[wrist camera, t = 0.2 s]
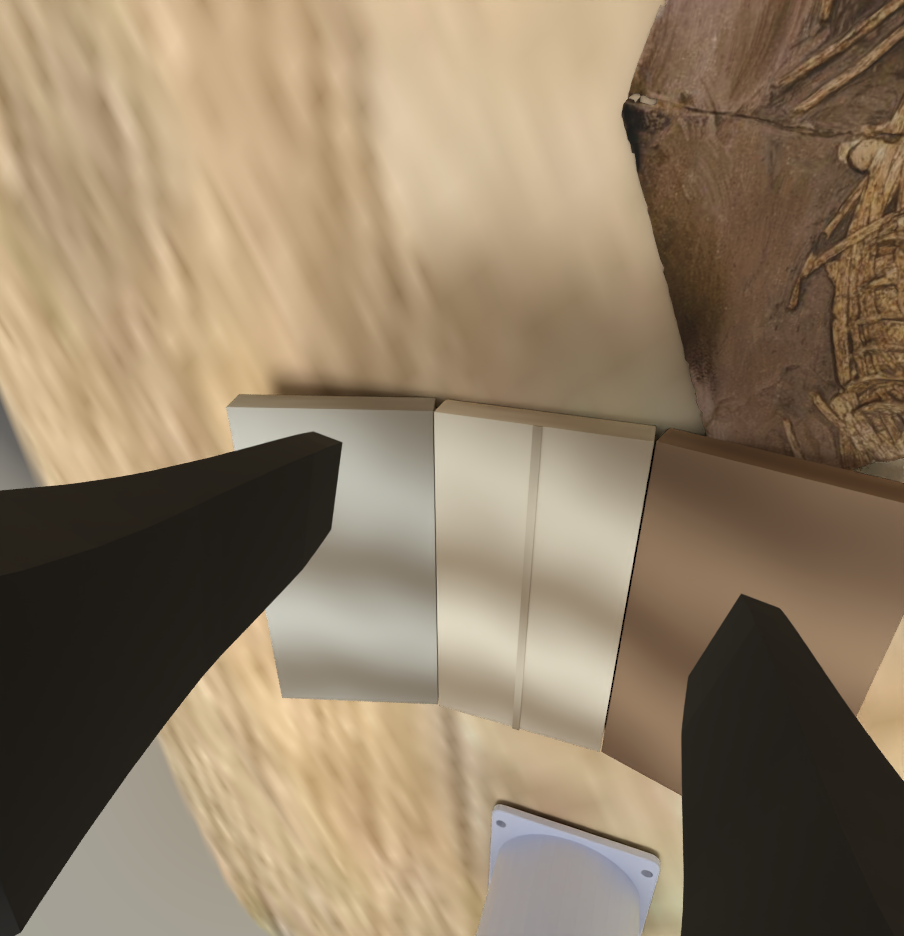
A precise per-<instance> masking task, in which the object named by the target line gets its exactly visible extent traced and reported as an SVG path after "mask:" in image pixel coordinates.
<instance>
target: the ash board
mask: <svg viewBox="0 0 904 936" xmlns="http://www.w3.org/2000/svg"><path fill="white" fill-rule="evenodd" d="M655 431H656V426H651V425H643V424H635V423H628V422H620V421H612V420H604V419H596V418H589V417H581V416H573V415H565V414H557V413H550V412H542V411H534V410H526V409H518V408H511V407H503V406H495V405H487V404H479V403H472V402H464V401H456V400H448V399H446V400H445V401H444V402H443V403H442V404H441V405H440V406H439V407H438V408H437V409H436V410H435V411H434V446H435V506H436V567H437V628H438V688H439V706H442V707H446V708H449V709H453V710H456V711H460V712H463V713H466V714H470V715H473V716H477V717H480V718H484V719H487V720H491V721H494V722H497V723H501V724H504V725H508V726H511V727H512V728H513V729H517V730H519V729H522V730H525V731H528V732H532V733H535V734H539V735H542V736H546V737H549V738H553V739H556V740H559V741H563V742H566V743H570V744H573V745H577V746H580V747H584V748H587V749H590V750H594V751H597V752H600V748H601V742H602V736H603V730H604V725H605V719H606V713H607V708H608V702H609V696H610V691H611V685H612V679H613V674H614V668H615V662H616V656H617V651H618V645H619V639H620V634H621V628H622V622H623V617H624V611H625V605H626V599H627V594H628V588H629V582H630V577H631V571H632V565H633V560H634V554H635V548H636V543H637V537H638V531H639V525H640V520H641V514H642V508H643V503H644V497H645V491H646V486H647V480H648V474H649V469H650V463H651V457H652V451H653V446H654V439H655Z"/></svg>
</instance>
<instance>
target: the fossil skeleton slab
mask: <svg viewBox="0 0 904 936" xmlns="http://www.w3.org/2000/svg"><path fill="white" fill-rule="evenodd" d="M633 93H638V94H640V98H641V96H643V95H645V96H647V97H648V98H657V104H654V105H647V104H644V103H641V102H640V98H639V99H638V100H637V102H636V103H635V102H634V100H632V99H629V97H630V96H631V95H632V94H633ZM622 118H623V121H624V126H625V129H626V133H627V137H628V140H629V142H630V144H631V150H632V153H635V158H636V166H637V172H638V176H639V179H640V183H641V187H642V190H643V194H644V197H645V200H646V203H647V205H648V213H649V216H650V219H651V223H652V227H653V233H654V237H655V240H656V244H657V248H658V252H659V256H660V259H661V262H662V264H663V266H664V275H665V278H666V281H667V283H668V287H669V293H670V297H671V301H672V304H673V308H674V312H675V316H676V319H677V323H678V328H679V332H680V335H681V339H682V343H683V347H684V353H685V359H686V361H687V362H688V364H689V369H690V375H691V379H692V383H693V385H694V388H695V389H696V393H695V394H696V396H697V397H698V398H697V400H696V402H697V404H698V407H699V409H700V410H701V411H702V412H703V414H702V423H703V425H704V428H705V430H706V433H707V437H710V438H714V439H719V440H723V441H727V442H731V443H736V444H740V445H744V446H748V447H753V448H757V449H761V450H765V451H770V452H774V453H778V454H782V455H786V456H791V457H795V458H799V459H803V460H808V461H812V462H816V463H820V464H825V465H829V466H833V467H837V468H841V469H846V470H850V471H853V470H855V469H857V468H860V467H863V466H866V465H869V464H871V463H873V462H886V461H894V460H896V459H899V458H904V0H666V6H660V8H659V10H658V13H657V16H656V19H655V22H654V24H653V26H652V28H651V31H650V34H649V37H648V39H647V42H646V45H645V47H644V50H643V53H642V55H641V58H640V60H639V63H638V65H637V68H636V71H635V74H634V77H633V80H632V83H631V87H630V91H629V96H628V99H627V100H626V102H625V103H624V104H623V110H622Z"/></svg>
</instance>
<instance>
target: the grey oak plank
mask: <svg viewBox="0 0 904 936" xmlns="http://www.w3.org/2000/svg"><path fill="white" fill-rule="evenodd" d="M226 408H227V414H228V419H229V424H230V429H231V434H232V440H233V445H234V450H235V451H237V450H240V449H244V448H248V447H252V446H255V445H259V444H263V443H266V442H270V441H274V440H277V439H281V438H285V437H289V436H293V435H297V434H302V433H307V432H312V431H314V432H317V433H319V434H322V435H325V436H327V437H330V438H333V439H335V440H338V441H340V442H343V443H342V451H341V459H340V466H339V474H338V482H337V489H336V497H335V505H334V513H333V520H332V528H331V531H330V532H329V534H328V535H327V537H326V538H325V539H324V541H323V542H322V544H321V545H320V547H319V548H318V549H317V551H316V552H315V554H314V555H313V556H312V558H311V559H310V560H309V562H308V563H307V564H306V566H305V567H304V568H303V570H302V571H301V572H300V573H299V574H298V575H297V576H296V577H295V579H294V580H293V581H292V582H291V583H290V584H289V585H288V586H287V587H286V588H285V589H284V590H283V591H282V592H281V593H280V594H279V595H278V597H277V598H276V599H275V600H274V601H273V602H272V603H271V604H270V605H269V606H268V607H267V608H266V609H265V611H266V616H267V621H268V626H269V632H270V637H271V642H272V647H273V652H274V658H275V663H276V668H277V673H278V678H279V684H280V689H281V694H282V698H301V699H324V700H348V701H372V702H396V703H420V704H438V697H439V688H438V628H437V567H436V506H435V446H434V411H435V410H436V398H415V397H359V396H303V395H247V394H239V395H238V396H237V397H236V398H235V399H234V400H233V401H232V402H231V403H230V404H229V405H228V406H227V407H226Z"/></svg>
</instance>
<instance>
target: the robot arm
mask: <svg viewBox="0 0 904 936" xmlns="http://www.w3.org/2000/svg"><path fill="white" fill-rule="evenodd" d="M342 443H343V442H340V441H338V440H335V439H333V438H330V437H327V436H325V435H322V434H319V433H317V432H314V431H312V432H307V433H302V434H297V435H293V436H289V437H285V438H281V439H277V440H274V441H270V442H266V443H263V444H259V445H255V446H252V447H248V448H244V449H240V450H237V451H233V452H229V453H225V454H222V455H218V456H214V457H210V458H206V459H202V460H197V461H193V462H189V463H184V464H180V465H175V466H171V467H167V468H162V469H158V470H153V471H149V472H144V473H139V474H133V475H128V476H122V477H116V478H110V479H103V480H96V481H89V482H82V483H75V484H67V485H57V486H46V487H35V488H24V489H13V490H2V491H0V936H15V935H17V934H19V933H21V931H22V930H23V928H24V927H25V925H26V924H27V922H28V920H29V919H30V917H31V916H32V914H33V913H34V911H35V909H36V908H37V906H38V905H39V903H40V902H41V900H42V899H43V897H44V895H45V894H46V893H47V891H48V890H49V888H50V887H51V885H52V884H53V882H54V881H55V879H56V878H57V876H58V875H59V873H60V872H61V870H62V869H63V867H64V866H65V864H66V863H67V861H68V860H69V858H70V857H71V855H72V854H73V852H74V851H75V849H76V848H77V846H78V845H79V843H80V842H81V840H82V839H83V837H84V836H85V834H86V833H87V832H88V830H89V829H90V827H91V826H92V824H93V823H94V821H95V820H96V819H97V817H98V816H99V815H100V813H101V812H102V810H103V809H104V807H105V806H106V805H107V803H108V802H109V800H110V799H111V798H112V796H113V795H114V793H115V792H116V790H117V789H118V788H119V786H120V785H121V783H122V782H123V780H124V779H125V778H126V776H127V775H128V773H129V772H130V771H131V769H132V768H133V767H134V765H135V764H136V763H137V761H138V760H139V759H140V757H141V756H142V755H143V753H144V752H145V750H146V749H147V748H148V747H149V745H150V744H151V743H152V741H153V740H154V738H155V737H156V736H157V734H158V733H159V732H160V730H161V729H162V728H163V726H164V725H165V724H166V722H167V721H168V720H169V719H170V717H171V716H172V715H173V713H174V712H175V711H176V710H177V708H178V707H179V706H180V704H181V703H182V702H183V701H184V699H185V698H186V697H187V696H188V694H189V693H190V692H191V690H192V689H193V688H194V687H195V685H196V684H197V683H198V681H199V680H200V679H201V678H202V676H203V675H204V674H205V673H206V672H207V671H208V670H209V668H210V667H211V666H212V665H213V664H214V663H215V662H216V660H217V659H218V658H219V657H220V656H221V655H222V654H223V653H224V652H225V651H226V650H227V649H228V648H229V646H230V645H231V644H232V643H233V642H234V641H235V640H236V639H237V638H238V637H239V636H240V635H241V634H242V633H243V632H244V631H245V630H246V629H247V628H248V627H249V626H250V625H251V624H252V623H253V622H254V620H255V619H256V618H257V617H258V616H259V615H260V614H261V613H262V612H263V611H264V610H265V609H266V608H267V607H268V606H269V605H270V604H271V603H272V602H273V601H274V600H275V599H276V598H277V597H278V595H279V594H280V593H281V592H282V591H283V590H284V589H285V588H286V587H287V586H288V585H289V584H290V583H291V582H292V581H293V580H294V579H295V577H296V576H297V575H298V574H299V573H300V572H301V571H302V570H303V568H304V567H305V566H306V564H307V563H308V562H309V560H310V559H311V558H312V556H313V555H314V554H315V552H316V551H317V549H318V548H319V547H320V545H321V544H322V542H323V541H324V539H325V538H326V537H327V535H328V534H329V532H330V531H331V528H332V520H333V513H334V505H335V497H336V489H337V482H338V474H339V466H340V459H341V451H342ZM681 765H682V816H683V862H684V888H683V916H682V928H681V936H904V781H903V780H902V779H901V777H900V776H899V775H898V773H897V772H896V771H895V769H894V768H893V767H892V766H891V764H890V763H889V762H888V760H887V759H886V758H885V757H884V755H883V754H882V753H881V751H880V750H879V748H878V747H877V746H876V744H875V743H874V742H873V740H872V739H871V737H870V736H869V735H868V733H867V732H866V731H865V729H864V728H863V726H862V725H861V724H860V722H859V721H858V719H857V718H856V717H855V715H854V714H853V712H852V711H851V710H850V708H849V707H848V705H847V704H846V702H845V701H844V699H843V698H842V697H841V695H840V694H839V692H838V691H837V689H836V688H835V686H834V685H833V683H832V682H831V681H830V679H829V678H828V676H827V675H826V673H825V672H824V670H823V669H822V667H821V666H820V664H819V663H818V661H817V660H816V658H815V657H814V655H813V654H812V652H811V651H810V649H809V648H808V646H807V645H806V643H805V642H804V641H803V639H802V638H801V636H800V635H799V633H798V632H797V630H796V629H795V627H794V626H793V625H792V623H791V622H790V620H789V619H788V618H787V616H786V615H785V614H784V612H783V611H782V610H781V609H780V608H778V607H776V606H773V605H771V604H768V603H765V602H763V601H760V600H757V599H755V598H752V597H749V596H747V595H744V594H740V596H739V597H738V599H737V601H736V602H735V604H734V605H733V607H732V608H731V610H730V612H729V613H728V615H727V616H726V618H725V619H724V621H723V623H722V624H721V626H720V627H719V629H718V630H717V632H716V634H715V635H714V637H713V638H712V640H711V641H710V643H709V645H708V646H707V648H706V649H705V651H704V652H703V654H702V656H701V657H700V659H699V660H698V662H697V663H696V665H695V667H694V668H693V670H692V671H691V673H690V674H689V676H688V681H687V689H686V696H685V703H684V712H683V721H682V730H681ZM659 872H660V860H659V859H658V858H657V857H656V856H655V855H653V854H651V853H648V852H645V851H642V850H639V849H636V848H633V847H630V846H626V845H623V844H620V843H617V842H614V841H611V840H608V839H605V838H602V837H599V836H596V835H593V834H590V833H587V832H584V831H581V830H578V829H575V828H572V827H569V826H566V825H563V824H560V823H557V822H554V821H551V820H548V819H545V818H542V817H539V816H536V815H533V814H530V813H527V812H524V811H521V810H518V809H515V808H512V807H509V806H506V805H502V804H498V805H495V806H494V809H493V812H492V825H491V845H490V865H489V885H488V893H487V896H486V900H485V904H484V908H483V911H482V915H481V919H480V922H479V926H478V930H477V933H476V936H641V935H642V931H643V928H644V924H645V921H646V917H647V914H648V910H649V907H650V904H651V900H652V897H653V893H654V890H655V886H656V883H657V879H658V876H659Z"/></svg>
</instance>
